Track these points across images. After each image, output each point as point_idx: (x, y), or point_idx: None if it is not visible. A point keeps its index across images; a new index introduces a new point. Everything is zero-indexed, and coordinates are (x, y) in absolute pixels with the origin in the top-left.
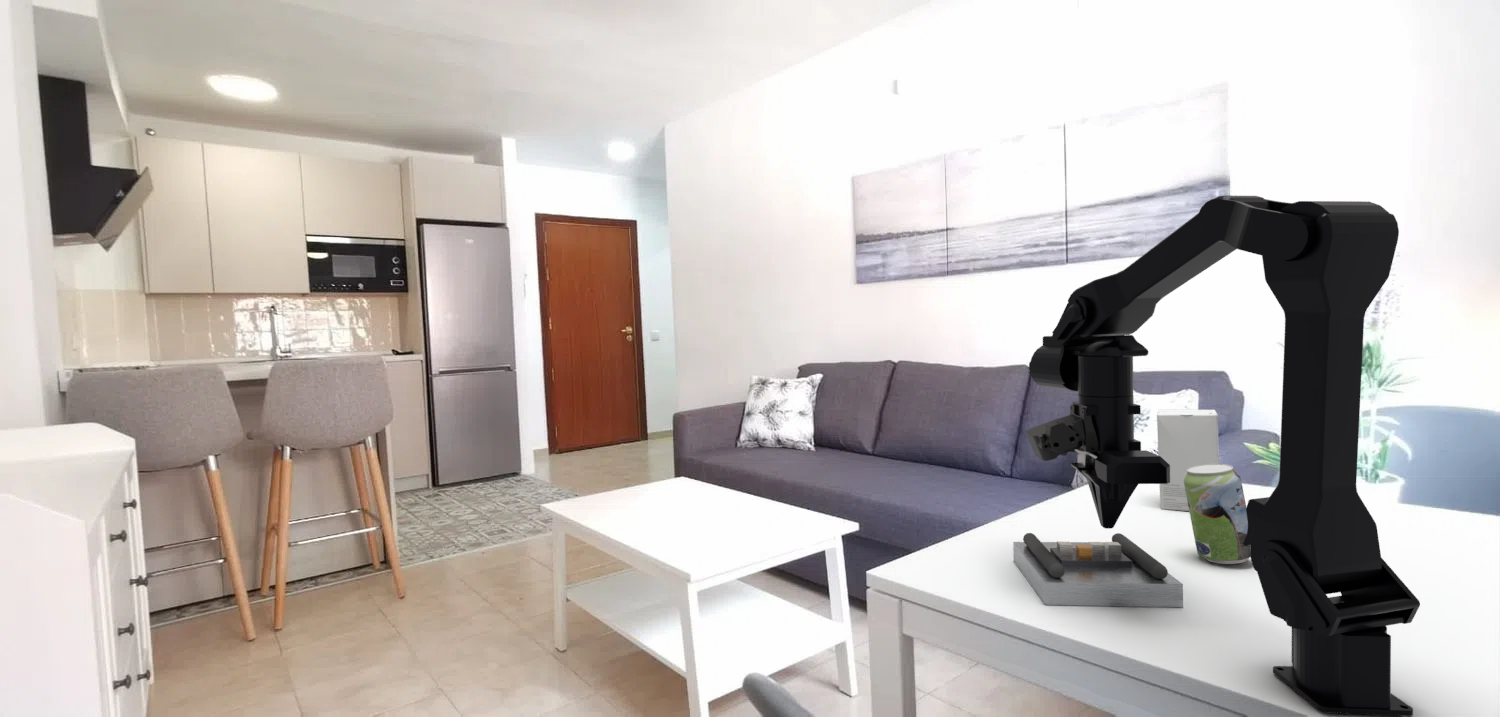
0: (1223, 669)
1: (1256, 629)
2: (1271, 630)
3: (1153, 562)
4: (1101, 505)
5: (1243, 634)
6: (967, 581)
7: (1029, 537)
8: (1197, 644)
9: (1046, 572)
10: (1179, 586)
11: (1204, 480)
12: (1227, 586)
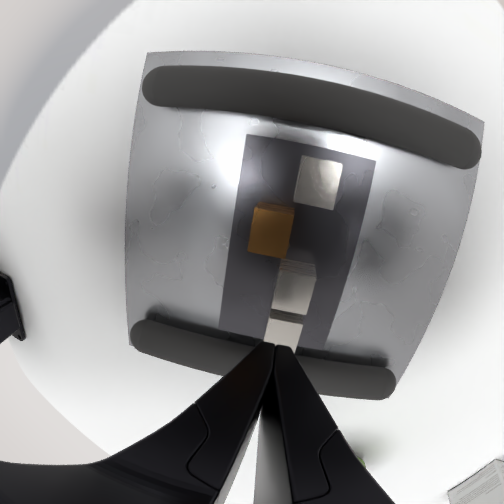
0: (9, 237)
1: (92, 350)
2: (93, 361)
3: (154, 345)
4: (202, 395)
5: (77, 325)
6: None
7: (442, 124)
8: (45, 251)
9: None
10: None
11: None
12: None
